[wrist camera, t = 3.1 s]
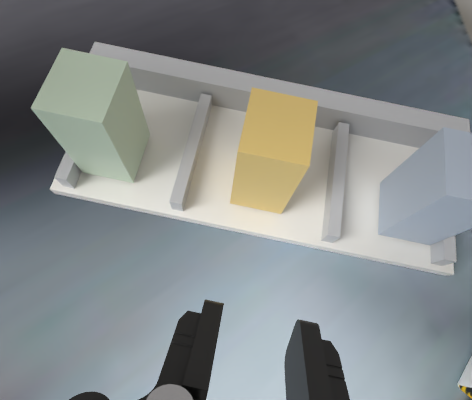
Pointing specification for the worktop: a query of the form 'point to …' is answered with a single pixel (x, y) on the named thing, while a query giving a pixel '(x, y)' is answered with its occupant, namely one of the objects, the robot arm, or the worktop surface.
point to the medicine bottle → (466, 379)
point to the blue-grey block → (430, 191)
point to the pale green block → (94, 113)
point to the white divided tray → (225, 153)
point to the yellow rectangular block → (273, 150)
